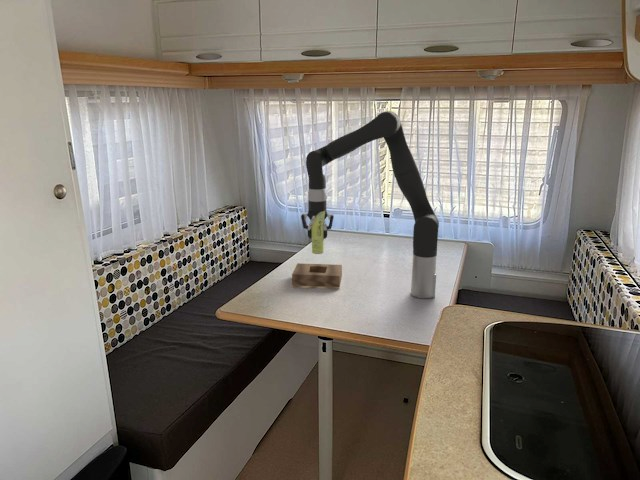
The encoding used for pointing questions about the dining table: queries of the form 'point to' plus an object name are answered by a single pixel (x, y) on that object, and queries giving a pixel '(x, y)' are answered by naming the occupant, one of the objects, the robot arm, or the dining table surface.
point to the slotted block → (317, 276)
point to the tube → (318, 234)
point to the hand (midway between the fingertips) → (317, 238)
